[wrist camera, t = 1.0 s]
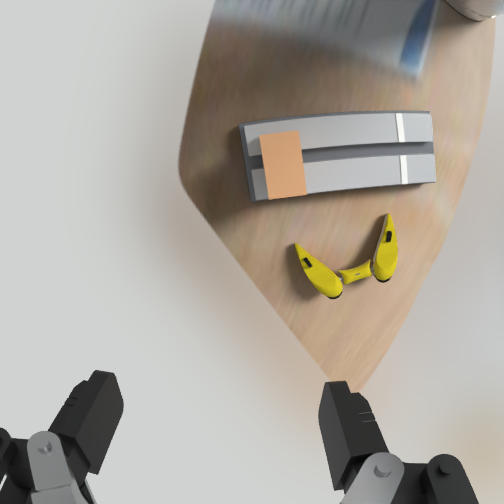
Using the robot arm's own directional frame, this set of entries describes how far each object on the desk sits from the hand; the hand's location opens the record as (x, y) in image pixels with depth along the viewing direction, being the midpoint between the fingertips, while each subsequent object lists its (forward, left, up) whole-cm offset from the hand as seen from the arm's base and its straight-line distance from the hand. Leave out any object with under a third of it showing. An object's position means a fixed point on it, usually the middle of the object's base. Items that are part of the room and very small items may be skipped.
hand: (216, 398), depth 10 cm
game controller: (+4, +10, -21) cm, 24 cm away
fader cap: (-7, +4, -19) cm, 20 cm away
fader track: (-7, +10, -21) cm, 24 cm away
